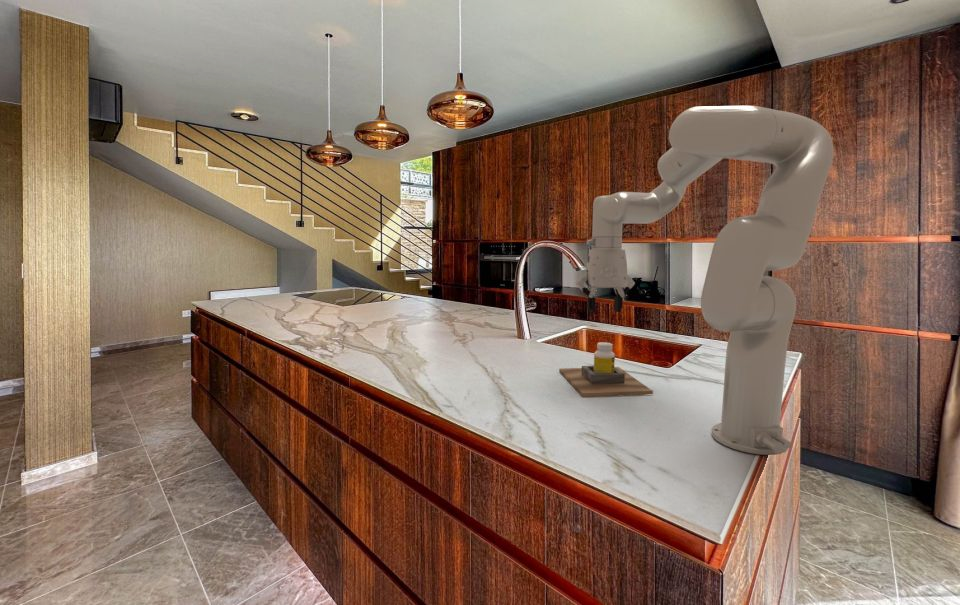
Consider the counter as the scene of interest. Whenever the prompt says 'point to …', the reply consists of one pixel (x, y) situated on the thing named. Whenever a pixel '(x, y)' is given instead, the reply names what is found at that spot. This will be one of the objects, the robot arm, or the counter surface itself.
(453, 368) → the counter surface
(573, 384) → the collar board
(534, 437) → the counter surface
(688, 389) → the counter surface
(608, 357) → the supplement bottle
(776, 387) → the robot arm
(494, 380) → the counter surface
